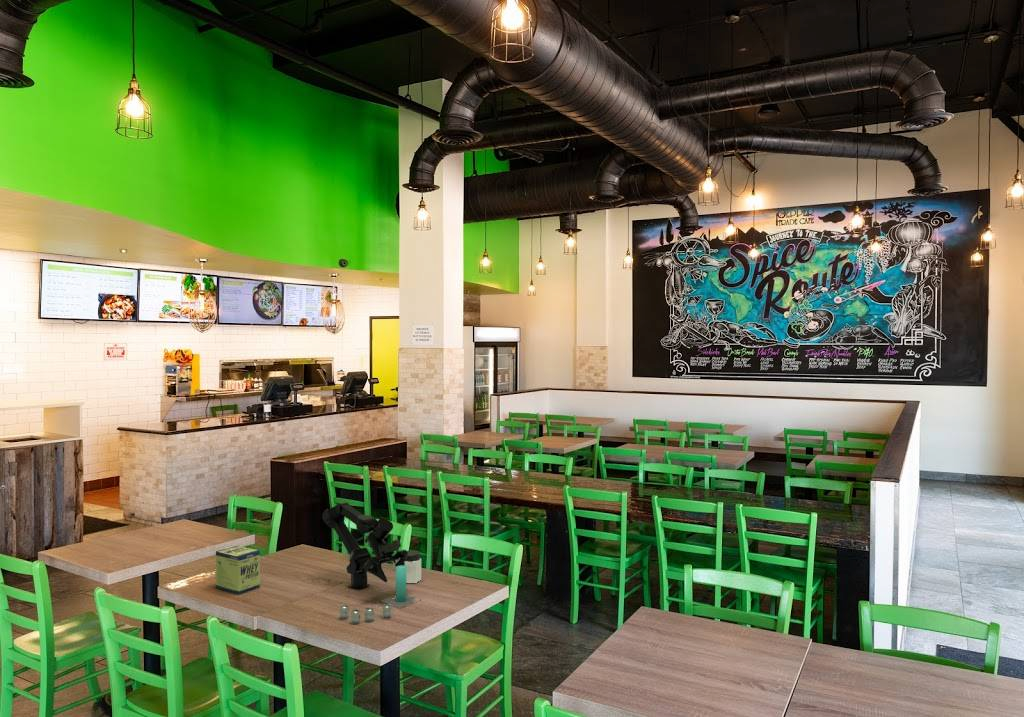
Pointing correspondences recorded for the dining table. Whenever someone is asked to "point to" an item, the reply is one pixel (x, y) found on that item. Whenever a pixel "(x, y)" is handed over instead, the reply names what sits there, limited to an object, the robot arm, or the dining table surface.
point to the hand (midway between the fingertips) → (395, 578)
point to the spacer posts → (368, 613)
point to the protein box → (237, 569)
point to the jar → (413, 566)
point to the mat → (400, 604)
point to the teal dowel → (401, 583)
